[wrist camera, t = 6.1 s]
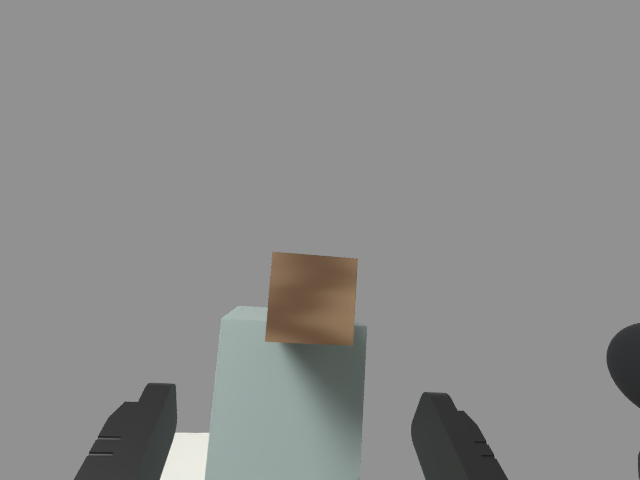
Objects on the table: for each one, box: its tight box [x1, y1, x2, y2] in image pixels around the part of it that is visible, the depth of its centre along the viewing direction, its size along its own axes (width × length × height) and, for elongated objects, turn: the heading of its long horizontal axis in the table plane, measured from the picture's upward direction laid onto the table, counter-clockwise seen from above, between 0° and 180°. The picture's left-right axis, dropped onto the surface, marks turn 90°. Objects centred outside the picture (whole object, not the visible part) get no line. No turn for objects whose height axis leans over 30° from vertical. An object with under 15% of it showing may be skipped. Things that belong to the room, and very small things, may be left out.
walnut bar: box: [265, 252, 358, 346], centre depth 25 cm, size 4×20×4 cm, turn 8°
